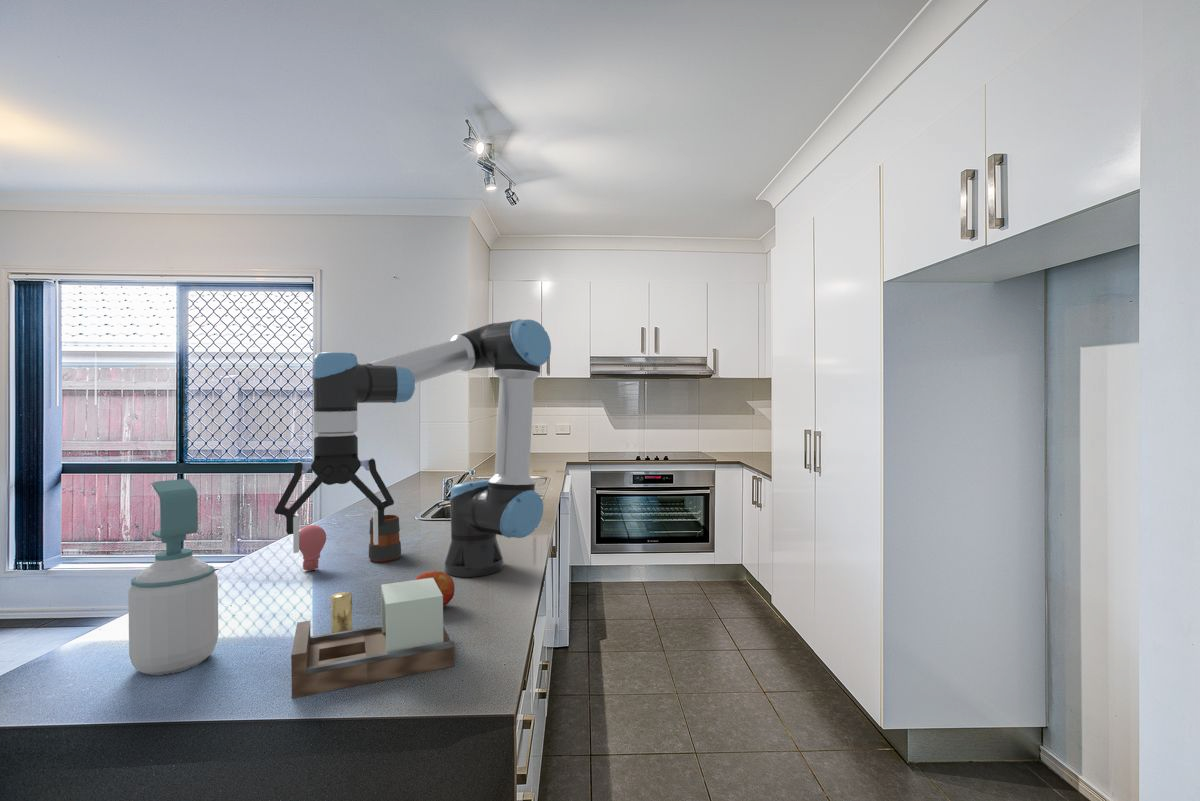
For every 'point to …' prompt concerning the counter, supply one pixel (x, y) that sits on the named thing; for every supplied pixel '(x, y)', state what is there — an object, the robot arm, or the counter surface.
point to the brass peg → (341, 612)
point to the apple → (441, 584)
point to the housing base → (357, 659)
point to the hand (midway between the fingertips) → (337, 547)
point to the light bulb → (311, 545)
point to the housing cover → (412, 614)
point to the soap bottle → (173, 593)
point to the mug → (385, 540)
